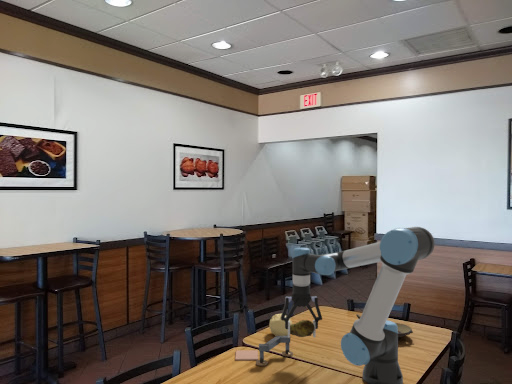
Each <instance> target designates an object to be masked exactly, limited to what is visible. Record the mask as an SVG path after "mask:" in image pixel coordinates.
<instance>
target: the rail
mask: <svg viewBox="0 0 512 384" xmlns="http://www.w3.org/2000/svg"><path fill="white" fill-rule="evenodd" d="M279 344H285V347H284V348H285V350H283V351H282V352H281V356H283V357H286V358H289V357H290V358H291V357H293V356H294V352H293V351H290V344H291V337H290V338H288V335H287V336H274V337H273V338H271V339H270V340H268V341H267V342H265V343H258V352H259V359H258V360H255V365H256V366H258V367H265V366H268V360H266V359H265V355H264V354H265V353H264V352H270V351H271V350H272V349H274V348H275V347H277V346H278V345H279Z"/></svg>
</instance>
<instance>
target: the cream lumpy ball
mask: <svg viewBox="0 0 512 384" xmlns="http://www.w3.org/2000/svg"><path fill="white" fill-rule="evenodd" d="M281 315H282V312H281V313H276V314H274V315H272V317H271V318H270V319H269V323H268V325H269V329H270V333H271V334H272V335H274V337H276V336H288V329H286V328H285V321H283V320H281ZM286 316H287V314H286V315H285V317H286ZM289 321H290V325H291V324H293V321H292V319H291V318H290V319H289Z"/></svg>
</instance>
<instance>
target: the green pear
mask: <svg viewBox="0 0 512 384" xmlns="http://www.w3.org/2000/svg"><path fill="white" fill-rule="evenodd" d="M314 330H315V327H314V325H313V321H311V320H308V319H306V320H304V319H302V320H299V321H298V322H296V323H292V324H291V325H290V336H296V337H299V338H305V337H311V336H313V332H314Z"/></svg>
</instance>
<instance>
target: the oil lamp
mask: <svg viewBox="0 0 512 384" xmlns="http://www.w3.org/2000/svg"><path fill="white" fill-rule="evenodd" d="M356 317H357V320H358V319H360V318H361V315H360V314H359V313H358V314H356ZM395 323H396V325H397V326H398V338H401V337H402V338H403V337H405V336H409V335H410V334H413V333H414V331H413V329H412V328H411V326H410V325H406V324H405V323H404V324H403V323H397V322H395Z"/></svg>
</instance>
